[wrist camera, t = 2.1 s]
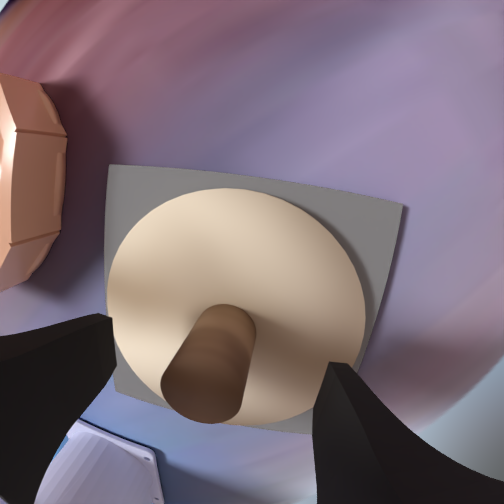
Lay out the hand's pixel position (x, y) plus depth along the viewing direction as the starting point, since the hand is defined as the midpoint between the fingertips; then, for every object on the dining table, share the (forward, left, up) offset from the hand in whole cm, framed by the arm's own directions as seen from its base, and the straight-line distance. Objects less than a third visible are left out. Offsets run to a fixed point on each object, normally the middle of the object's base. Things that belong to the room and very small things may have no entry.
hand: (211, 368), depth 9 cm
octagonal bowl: (+5, +15, -4) cm, 16 cm away
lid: (0, 0, -3) cm, 3 cm away
